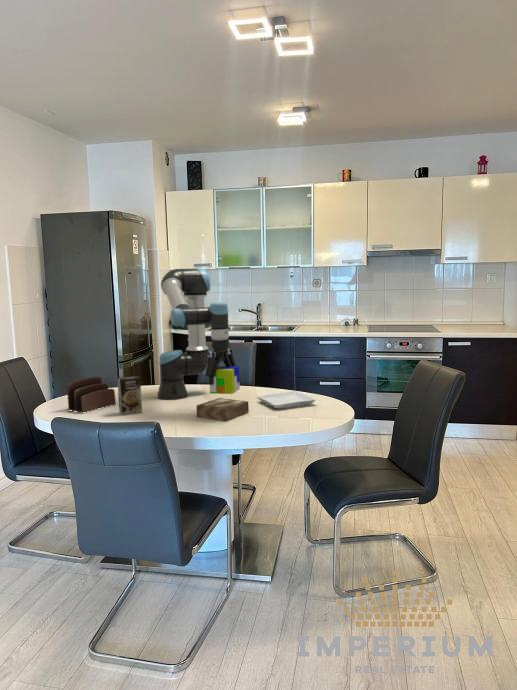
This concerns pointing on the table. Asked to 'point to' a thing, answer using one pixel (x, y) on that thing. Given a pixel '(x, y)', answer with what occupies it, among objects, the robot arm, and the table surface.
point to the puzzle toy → (227, 380)
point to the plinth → (222, 409)
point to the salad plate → (286, 399)
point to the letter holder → (89, 394)
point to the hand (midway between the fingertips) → (222, 389)
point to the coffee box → (129, 395)
